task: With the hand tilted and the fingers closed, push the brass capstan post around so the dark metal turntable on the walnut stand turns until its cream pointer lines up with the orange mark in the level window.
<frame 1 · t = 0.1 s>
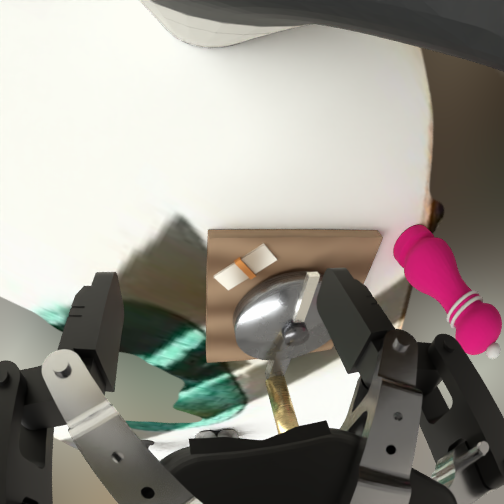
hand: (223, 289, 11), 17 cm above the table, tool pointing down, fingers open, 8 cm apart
car model: (215, 438, 72), on the table
turntable: (301, 383, 32), point 11 cm above the table, hinge at 0.0°
pepper mill: (410, 242, 37), on the table
stand: (283, 301, 38), on the table
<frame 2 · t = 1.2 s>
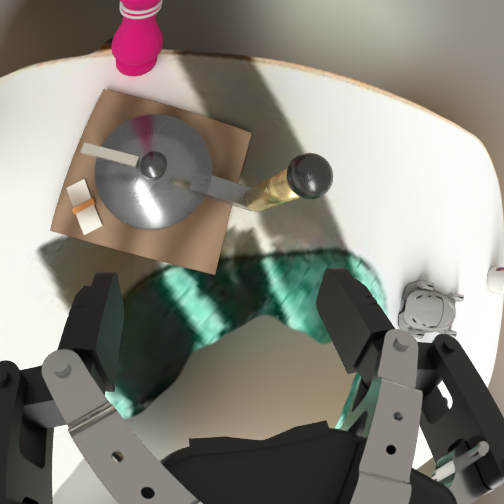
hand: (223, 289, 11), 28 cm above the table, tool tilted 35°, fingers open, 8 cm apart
car model: (426, 310, 56), on the table
turntable: (184, 159, 27), point 11 cm above the table, hinge at 0.0°
pepper mill: (136, 61, 35), on the table
stand: (151, 177, 36), on the table
milk bottle: (489, 280, 68), on the table
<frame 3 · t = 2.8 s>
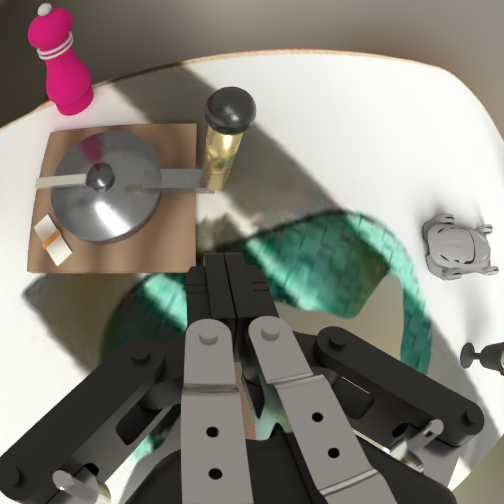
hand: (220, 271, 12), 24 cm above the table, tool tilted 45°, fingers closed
car model: (457, 250, 47), on the table
turntable: (117, 152, 25), point 11 cm above the table, hinge at 0.0°
sundae: (466, 355, 42), on the table
pepper mill: (75, 101, 36), on the table
stand: (111, 195, 35), on the table
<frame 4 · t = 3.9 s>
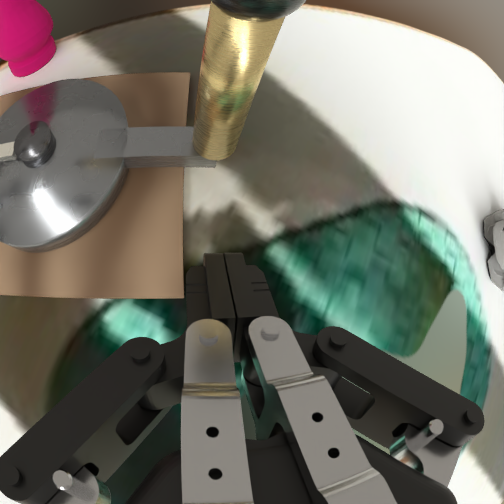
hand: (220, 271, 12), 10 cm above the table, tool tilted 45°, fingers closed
turntable: (45, 90, 11), point 11 cm above the table, hinge at 0.0°
pepper mill: (34, 60, 22), on the table
stand: (58, 176, 21), on the table
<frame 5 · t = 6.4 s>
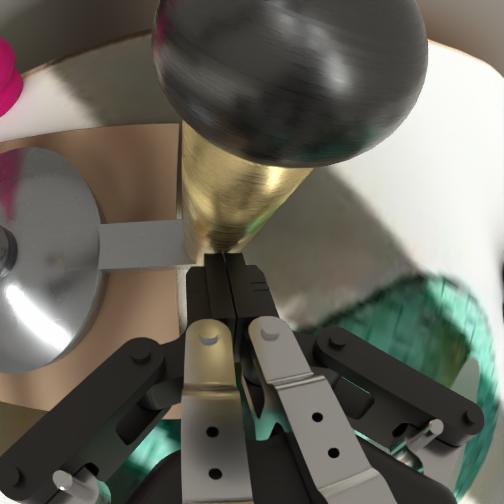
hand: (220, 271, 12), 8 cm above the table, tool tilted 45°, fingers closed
pepper mill: (0, 100, 18), on the table
stand: (32, 265, 17), on the table
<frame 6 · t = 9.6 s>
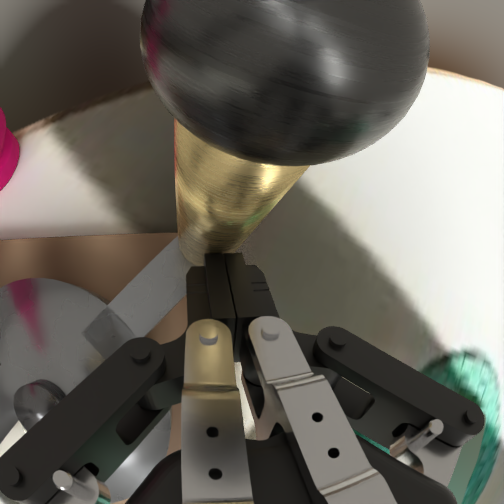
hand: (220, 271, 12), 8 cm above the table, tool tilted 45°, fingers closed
turntable: (22, 402, 7), point 11 cm above the table, hinge at 42.6°, touching gripper
stand: (74, 387, 16), on the table
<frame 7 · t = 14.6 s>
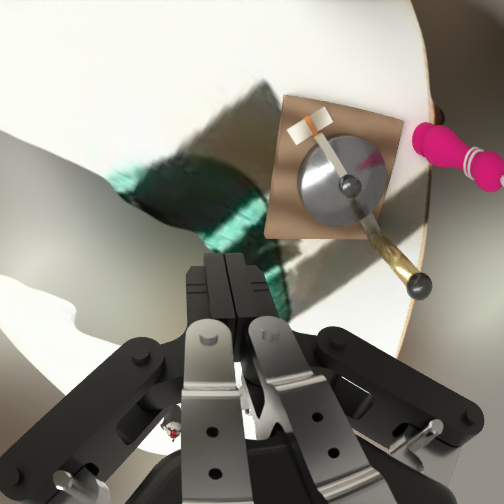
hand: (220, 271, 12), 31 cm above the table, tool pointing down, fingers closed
car model: (255, 386, 75), on the table
turntable: (376, 217, 37), point 11 cm above the table, hinge at 43.6°
sundae: (172, 392, 70), on the table
pepper mill: (423, 138, 44), on the table
stand: (334, 173, 45), on the table
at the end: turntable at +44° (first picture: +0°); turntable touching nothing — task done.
